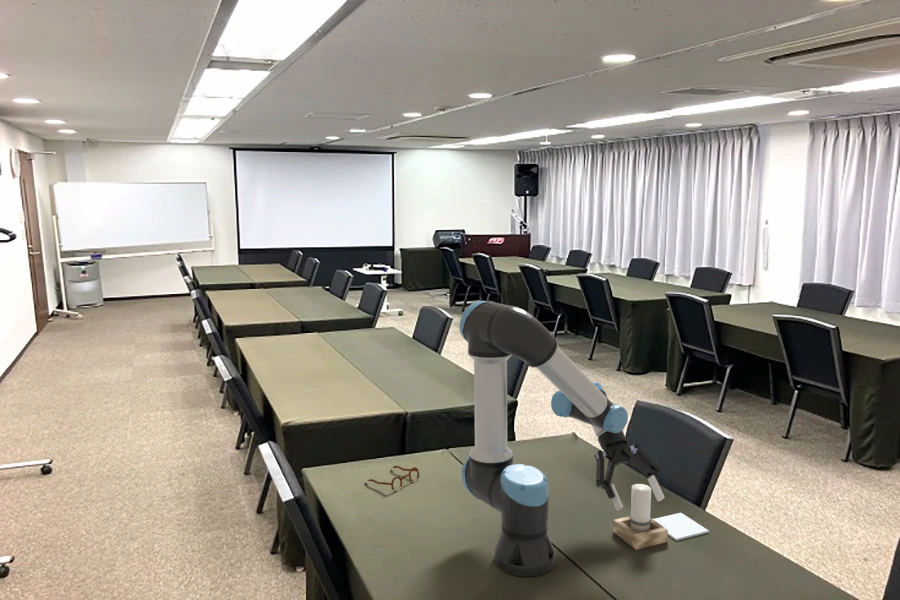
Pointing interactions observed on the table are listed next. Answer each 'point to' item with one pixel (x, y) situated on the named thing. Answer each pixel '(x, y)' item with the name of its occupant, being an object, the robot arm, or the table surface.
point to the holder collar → (642, 539)
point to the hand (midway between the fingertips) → (641, 504)
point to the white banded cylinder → (640, 508)
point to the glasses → (399, 477)
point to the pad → (681, 526)
